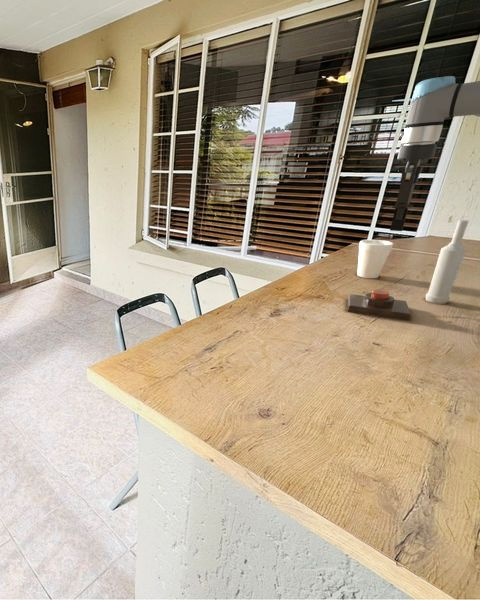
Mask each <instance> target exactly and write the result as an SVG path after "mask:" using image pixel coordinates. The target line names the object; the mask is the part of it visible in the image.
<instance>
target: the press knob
mask: <svg viewBox="0 0 480 600" xmlns="http://www.w3.org/2000/svg"><path fill="white" fill-rule="evenodd" d="M370 293H371V297H372V298H374V299H380V300H388V297H389V296H390V292H389V291H387V290H383V289H373V290H371V292H370Z"/></svg>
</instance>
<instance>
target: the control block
mask: <svg viewBox="0 0 480 600" xmlns="http://www.w3.org/2000/svg"><path fill="white" fill-rule="evenodd" d="M371 293H372V292H368V293H367V292H366V293H365V294H364V295H361V294H354V293H353V294H352V293H348V296H347V312H350V313H356V314H363V315H370V316H378V317H383V318H391V319H398V320H403V321H410V319H411V316H412V312H411V311H410V307H409V305H408V303H407V301H406V300H401V299H395V297H393V296H391V295H389V297H388V300H380V299H374V298H372V297H371Z"/></svg>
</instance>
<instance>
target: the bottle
mask: <svg viewBox="0 0 480 600" xmlns="http://www.w3.org/2000/svg"><path fill="white" fill-rule="evenodd" d="M469 221H470V220H468V219H458V221H457V224H456V228H455V230H454V233H453V237H452V239H451V242H449V243H448V244H447V245H445V246H443V247H441V249H440V251H439V254H438V258H437V262H436V265H435V268H434V272H433V276H432V279H431V282H430V284H429V288H428V292H427V293H426V294H425V301H426V302H429V303H433V304H439V305H442V304H443V305H444V304H447V303H448V302H449V300H450V293H451V291H452V288H453V286H454V284H455V281H456V278H457V276H458V273H459V271H460V268H461V266H462V263H463V260H464V258H465V256H466V253H467V249H466V248H465V247H463V243H462V241H463V238H464V236H465V232H466V230H467V227H468V224H469V223H470V222H469Z"/></svg>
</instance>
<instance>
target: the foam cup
mask: <svg viewBox="0 0 480 600" xmlns="http://www.w3.org/2000/svg"><path fill="white" fill-rule="evenodd" d="M393 246H394V242H391V241H388V240H383V239H361V240H360V241H359V245H358V258H357V259H358V262H357V271H356V273H357V274H356V275H357V276H358V277H361V278H365V279H378V278H379V276H380V274H381V272H382V270H383V267H384V265H385V264H386V261H387V259H388V257H389V254H390V252H391V251H392V249H393Z"/></svg>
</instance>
